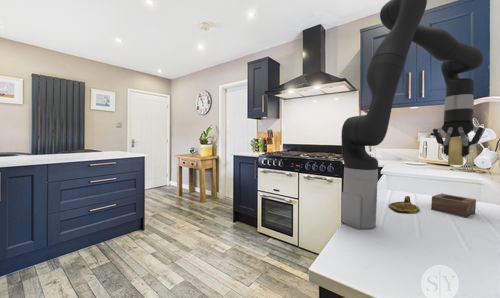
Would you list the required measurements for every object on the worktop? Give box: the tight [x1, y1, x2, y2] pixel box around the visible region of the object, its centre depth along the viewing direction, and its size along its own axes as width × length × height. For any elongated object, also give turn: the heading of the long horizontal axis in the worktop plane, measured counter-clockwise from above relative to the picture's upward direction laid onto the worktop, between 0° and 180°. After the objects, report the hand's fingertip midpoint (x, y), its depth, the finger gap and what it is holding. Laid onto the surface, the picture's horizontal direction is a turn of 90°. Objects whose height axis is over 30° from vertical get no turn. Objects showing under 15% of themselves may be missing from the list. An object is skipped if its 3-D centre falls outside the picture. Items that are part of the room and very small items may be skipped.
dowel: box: [447, 136, 464, 166], centre depth 77 cm, size 4×4×10 cm
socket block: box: [430, 193, 477, 219], centre depth 77 cm, size 10×10×5 cm
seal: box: [388, 195, 420, 215], centre depth 80 cm, size 9×5×15 cm
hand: (455, 155), depth 77 cm, fingers closed on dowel, 4 cm apart
